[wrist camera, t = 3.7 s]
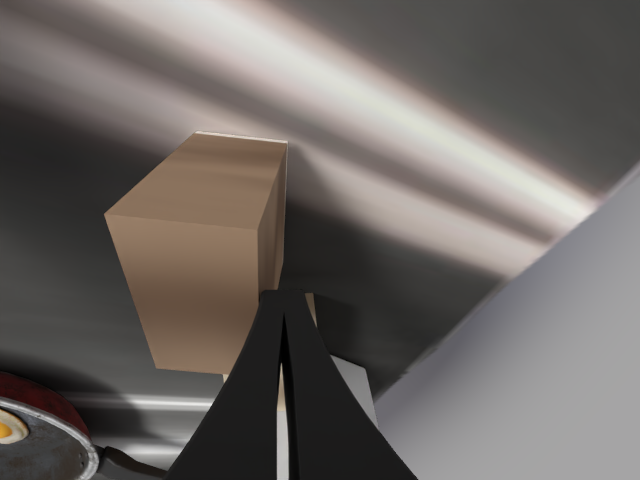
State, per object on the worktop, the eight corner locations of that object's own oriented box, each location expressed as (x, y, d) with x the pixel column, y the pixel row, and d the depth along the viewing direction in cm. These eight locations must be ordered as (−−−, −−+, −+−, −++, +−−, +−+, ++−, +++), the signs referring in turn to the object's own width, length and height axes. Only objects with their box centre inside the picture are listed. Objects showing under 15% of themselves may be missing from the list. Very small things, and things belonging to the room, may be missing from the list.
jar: (350, 408, 30) (383, 597, 21) (262, 410, 29) (254, 613, 19) (374, 350, 25) (432, 565, 16) (268, 349, 24) (260, 585, 14)
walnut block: (196, 130, 14) (104, 214, 8) (288, 141, 14) (257, 229, 9) (212, 255, 18) (156, 368, 13) (282, 262, 18) (259, 377, 13)
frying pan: (-235, 298, 17) (-344, 361, 14) (294, 406, 29) (296, 452, 26) (-173, 446, 26) (-232, 505, 23) (215, 482, 38) (210, 523, 35)
